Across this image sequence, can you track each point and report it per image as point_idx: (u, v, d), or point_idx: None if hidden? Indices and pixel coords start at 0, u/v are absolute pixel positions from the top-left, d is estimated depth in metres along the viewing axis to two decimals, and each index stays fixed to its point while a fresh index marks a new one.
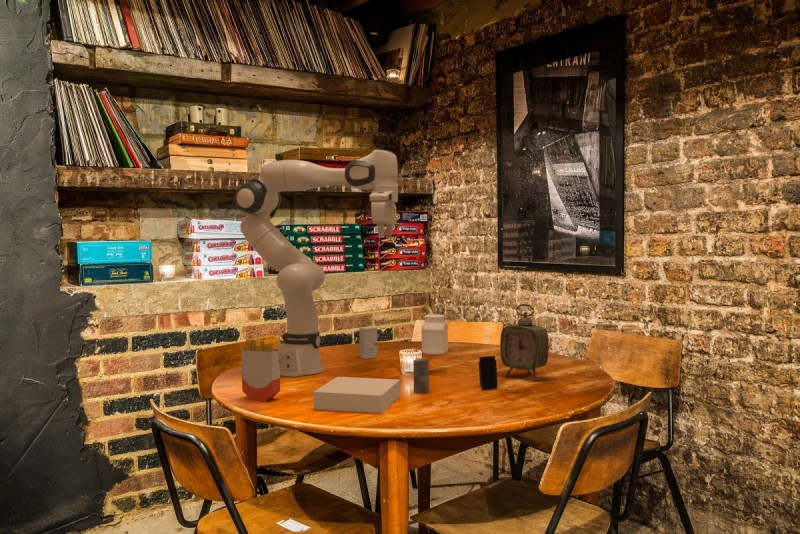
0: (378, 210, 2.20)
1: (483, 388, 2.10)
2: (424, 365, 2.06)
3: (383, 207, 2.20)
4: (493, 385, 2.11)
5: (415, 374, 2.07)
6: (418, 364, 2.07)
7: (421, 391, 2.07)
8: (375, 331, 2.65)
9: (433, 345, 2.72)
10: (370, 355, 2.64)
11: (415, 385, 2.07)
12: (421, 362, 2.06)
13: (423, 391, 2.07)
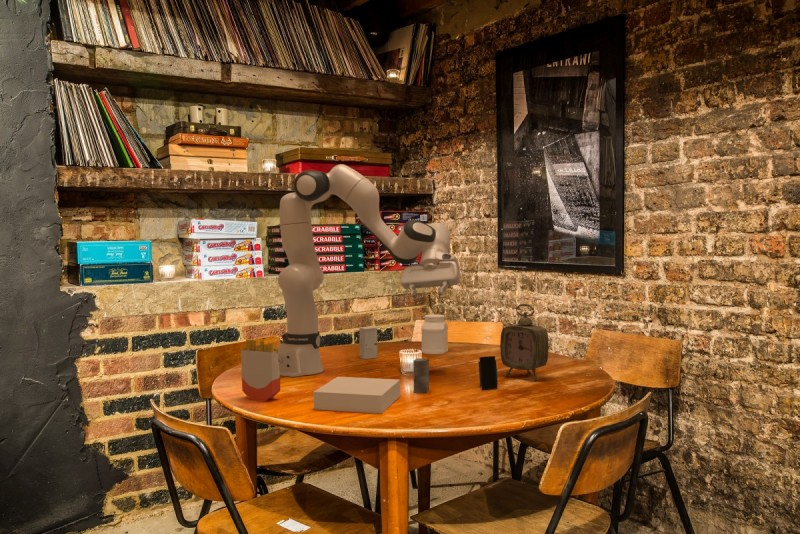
0: (459, 272, 2.22)
1: (483, 388, 2.10)
2: (424, 365, 2.06)
3: None
4: (493, 385, 2.11)
5: (415, 374, 2.07)
6: (418, 364, 2.07)
7: (421, 391, 2.07)
8: (375, 331, 2.65)
9: (433, 345, 2.72)
10: (370, 355, 2.64)
11: (415, 385, 2.07)
12: (421, 362, 2.06)
13: (423, 391, 2.07)
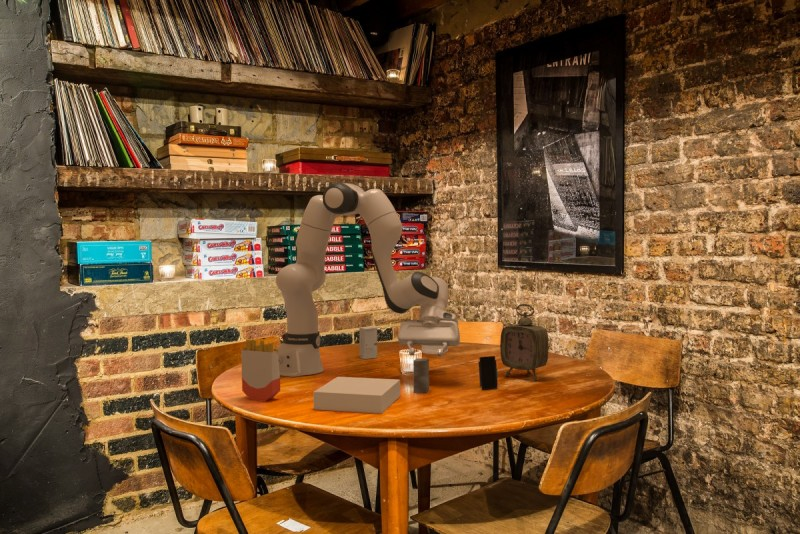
0: (459, 333, 2.17)
1: (483, 388, 2.10)
2: (424, 365, 2.06)
3: None
4: (493, 385, 2.11)
5: (415, 374, 2.07)
6: (418, 364, 2.07)
7: (421, 391, 2.07)
8: (375, 331, 2.65)
9: None
10: (370, 355, 2.64)
11: (415, 385, 2.07)
12: (421, 362, 2.06)
13: (423, 391, 2.07)
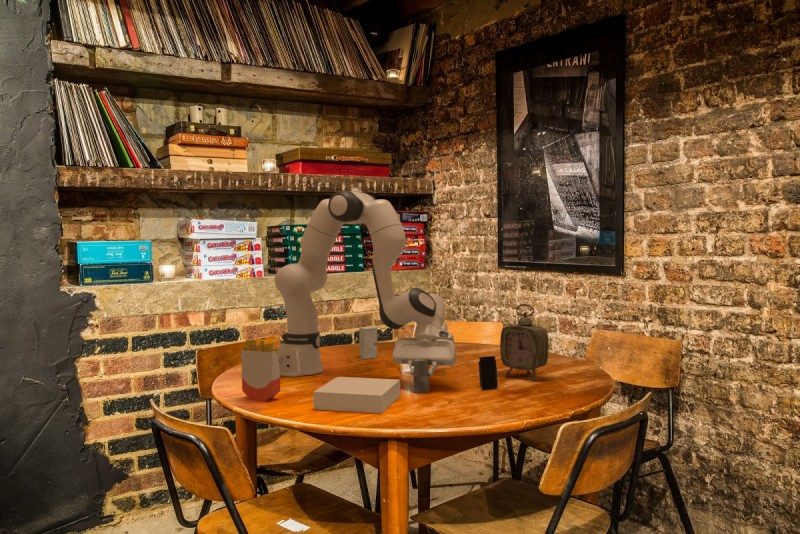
0: (455, 352, 2.12)
1: (483, 388, 2.10)
2: (424, 365, 2.06)
3: None
4: (493, 385, 2.11)
5: (415, 374, 2.07)
6: (418, 364, 2.07)
7: (421, 391, 2.07)
8: (375, 331, 2.65)
9: None
10: (370, 355, 2.64)
11: (415, 385, 2.07)
12: (421, 362, 2.06)
13: (423, 391, 2.07)
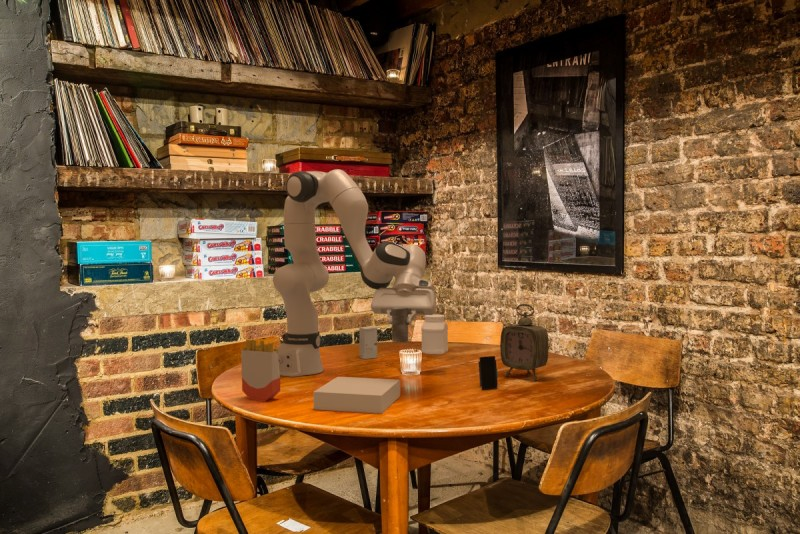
0: (435, 302, 2.07)
1: (483, 388, 2.10)
2: (403, 313, 2.01)
3: None
4: (493, 385, 2.11)
5: (394, 322, 2.02)
6: (396, 312, 2.02)
7: (400, 340, 2.02)
8: (375, 331, 2.65)
9: (433, 345, 2.72)
10: (370, 355, 2.64)
11: (394, 334, 2.02)
12: (400, 310, 2.01)
13: (402, 340, 2.02)
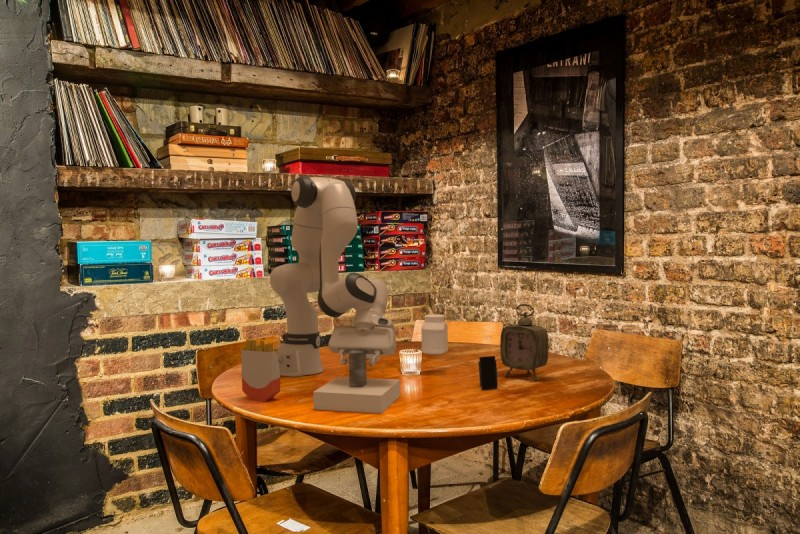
0: (395, 341, 1.99)
1: (483, 388, 2.10)
2: (360, 357, 1.93)
3: None
4: (493, 385, 2.11)
5: (350, 367, 1.94)
6: (353, 356, 1.94)
7: (357, 385, 1.94)
8: None
9: (433, 345, 2.72)
10: (370, 355, 2.64)
11: (350, 379, 1.94)
12: (357, 354, 1.94)
13: (359, 385, 1.94)
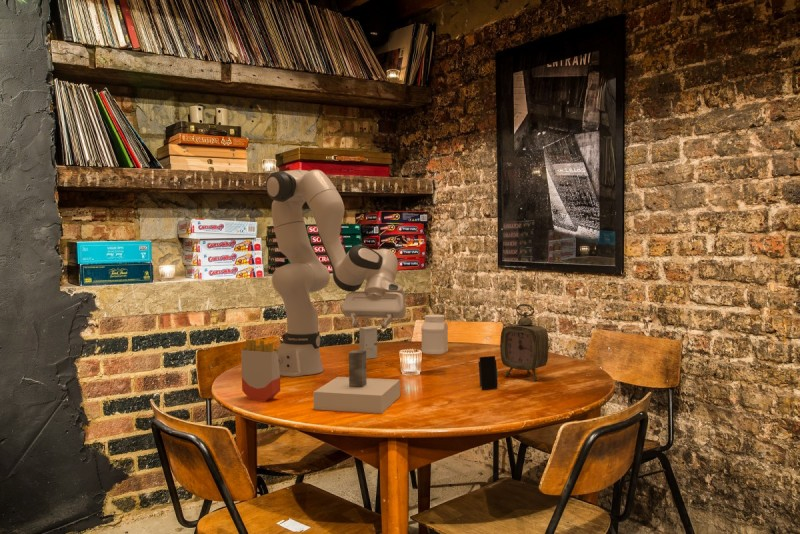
0: (404, 305, 2.10)
1: (483, 388, 2.10)
2: (360, 357, 1.93)
3: (405, 306, 2.12)
4: (493, 385, 2.11)
5: (350, 367, 1.94)
6: (353, 356, 1.94)
7: (357, 385, 1.94)
8: (375, 331, 2.65)
9: (433, 345, 2.72)
10: (370, 355, 2.64)
11: (350, 379, 1.94)
12: (357, 354, 1.94)
13: (359, 385, 1.94)
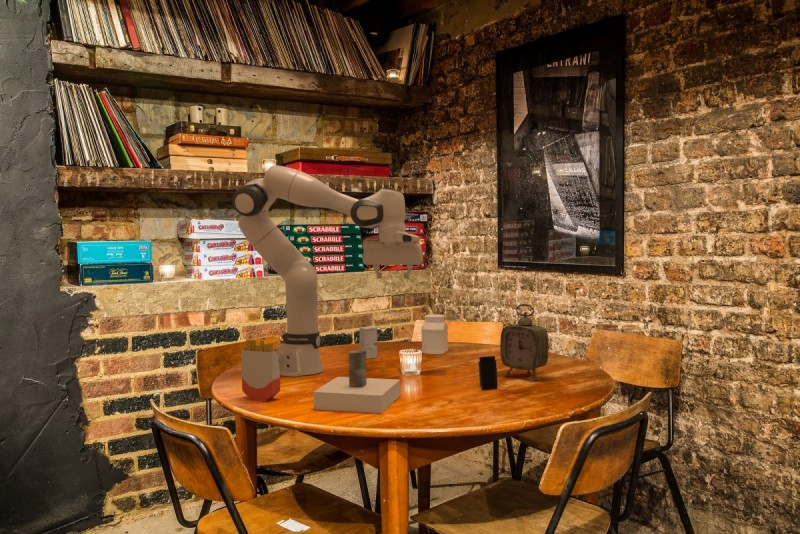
0: (421, 251, 2.22)
1: (483, 388, 2.10)
2: (360, 357, 1.93)
3: (421, 248, 2.24)
4: (493, 385, 2.11)
5: (350, 367, 1.94)
6: (353, 356, 1.94)
7: (357, 385, 1.94)
8: (375, 331, 2.65)
9: (433, 345, 2.72)
10: (370, 355, 2.64)
11: (350, 379, 1.94)
12: (357, 354, 1.94)
13: (359, 385, 1.94)
